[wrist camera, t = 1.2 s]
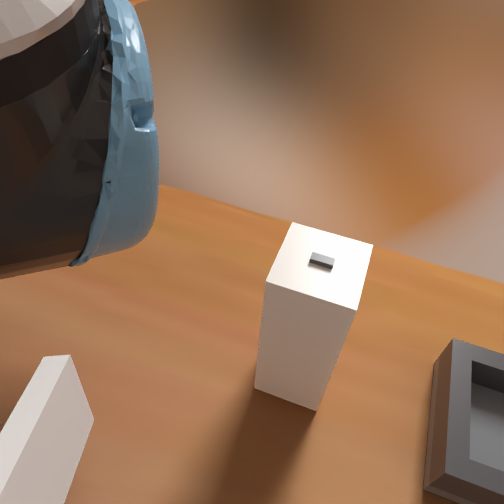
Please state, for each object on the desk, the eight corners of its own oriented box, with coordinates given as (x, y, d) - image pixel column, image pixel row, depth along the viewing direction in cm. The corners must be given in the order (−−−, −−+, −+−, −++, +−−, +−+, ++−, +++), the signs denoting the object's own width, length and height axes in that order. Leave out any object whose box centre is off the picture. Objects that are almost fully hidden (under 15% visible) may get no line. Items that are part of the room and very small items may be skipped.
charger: (254, 387, 30) (266, 277, 21) (274, 335, 33) (292, 218, 23) (316, 411, 29) (358, 306, 20) (331, 355, 32) (374, 241, 22)
